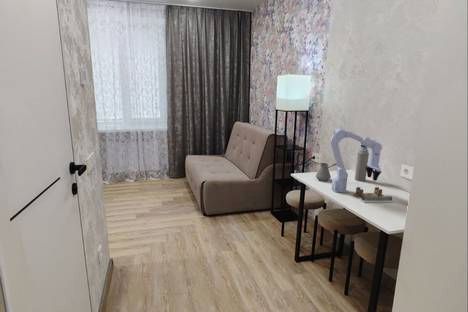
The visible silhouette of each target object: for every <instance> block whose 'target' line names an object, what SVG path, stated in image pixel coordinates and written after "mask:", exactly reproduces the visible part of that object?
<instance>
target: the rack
mask: <svg viewBox="0 0 468 312" xmlns="http://www.w3.org/2000/svg"><path fill="white" fill-rule="evenodd" d="M352 195H353V196H354V197H355V198H362V196H385V195H384V194H383V189H380V187H379V186H377V187H376V186H375V187H374V192H364V189H362V188H361V186H357V187H356V188H355V192H353V193H352Z"/></svg>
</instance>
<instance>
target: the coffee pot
mask: <svg viewBox="0 0 468 312" xmlns="http://www.w3.org/2000/svg"><path fill="white" fill-rule="evenodd" d="M319 164H320V167H319V169H318V170H317V172H316V174H315V177H316V179H317V180H318V181H321V182H327V181H329V180H330V179H331V173H330V171H329V168H331V167H333V166H337V165H336V163H333V164H332V165H330V164H329V163H326V162H320V163H319ZM343 164H345V162H344V161H343Z"/></svg>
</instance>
